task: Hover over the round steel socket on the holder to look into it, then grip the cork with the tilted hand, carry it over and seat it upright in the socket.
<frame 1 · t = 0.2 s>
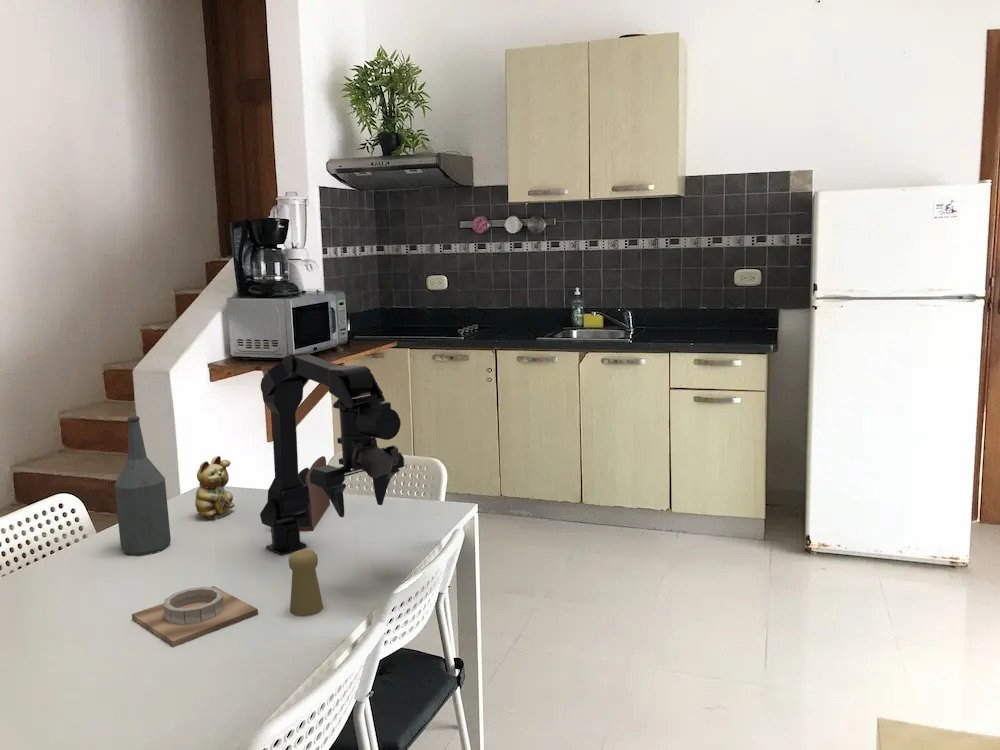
hand: (361, 510, 163), 15 cm above the table, tool pointing down, fingers open, 9 cm apart
socket holder: (195, 616, 152), on the table
decorative figurine: (213, 516, 209), on the table
cork: (306, 610, 154), on the table
letter holder: (301, 519, 205), on the table
bottle: (146, 548, 188), on the table
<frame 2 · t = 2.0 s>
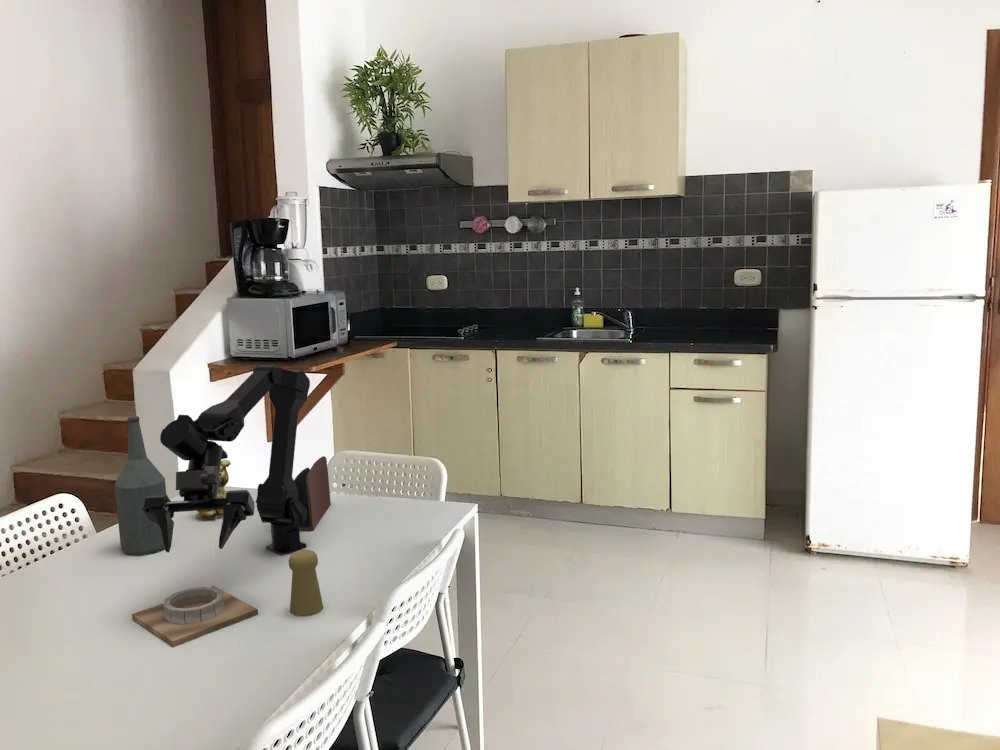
hand: (193, 549, 148), 13 cm above the table, tool tilted 45°, fingers open, 9 cm apart
nothing on the table moved.
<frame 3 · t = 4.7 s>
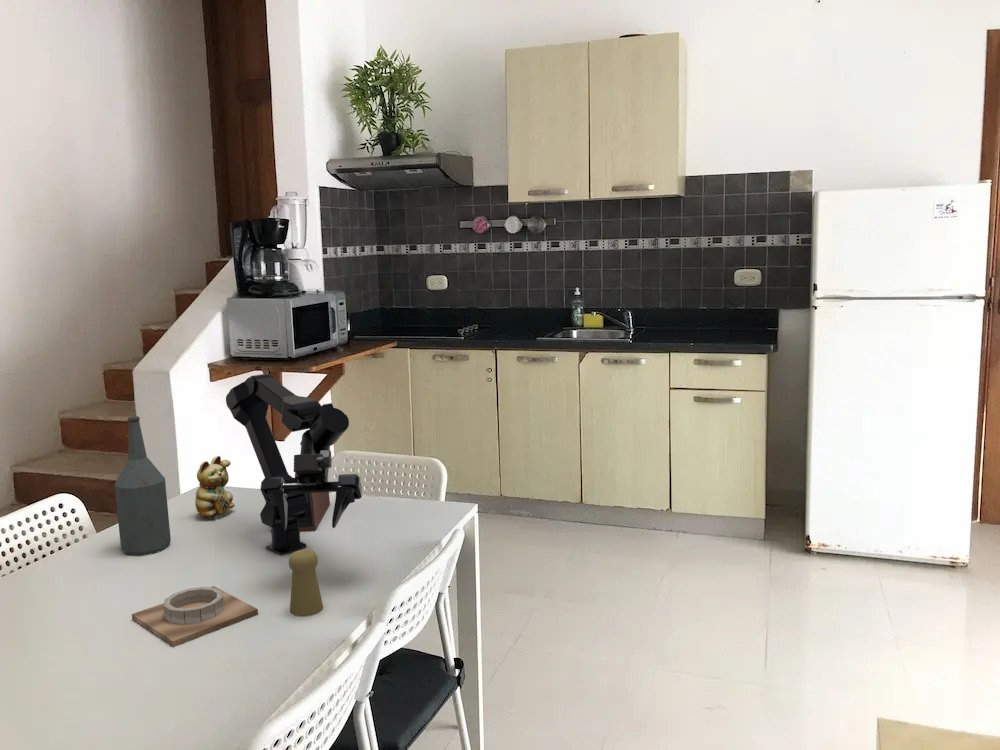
hand: (308, 528, 159), 13 cm above the table, tool tilted 45°, fingers open, 9 cm apart
nothing on the table moved.
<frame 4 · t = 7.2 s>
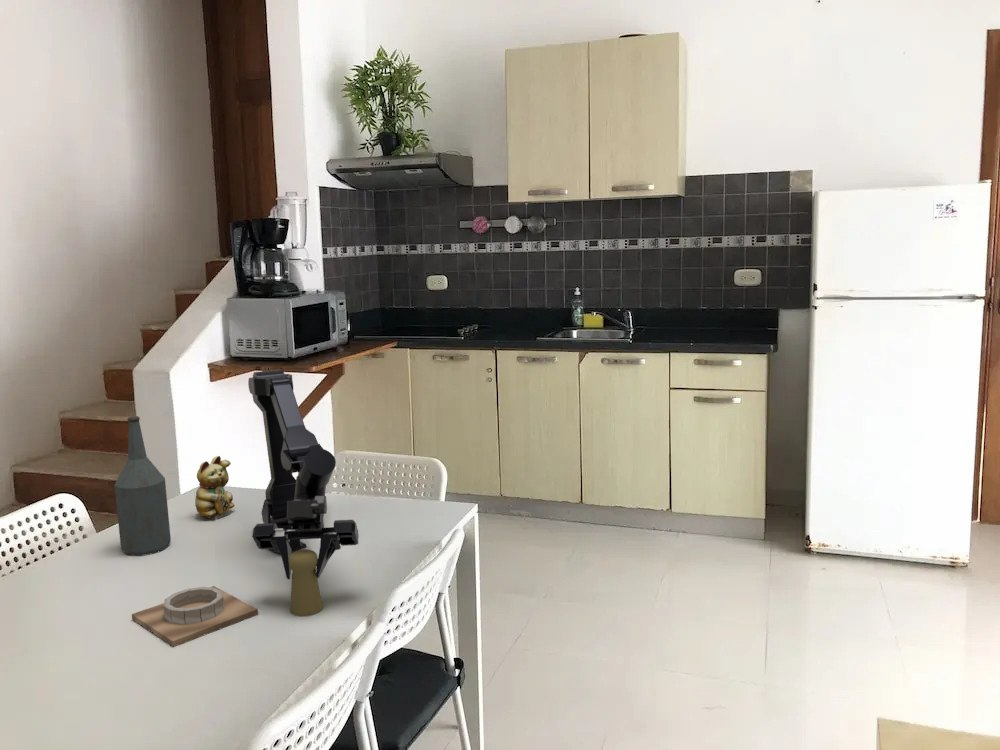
hand: (302, 577, 151), 7 cm above the table, tool tilted 45°, fingers closed on cork, 5 cm apart
cork: (306, 609, 154), on the table, touching gripper
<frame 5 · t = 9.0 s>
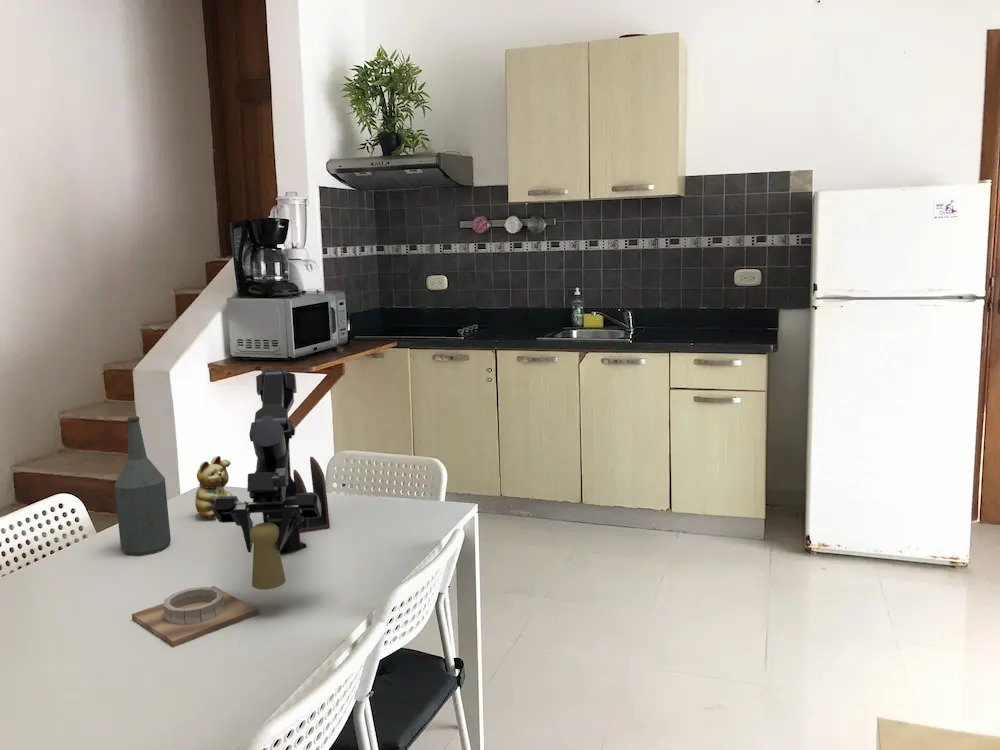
hand: (264, 550, 150), 12 cm above the table, tool tilted 45°, fingers closed on cork, 5 cm apart
cork: (268, 583, 153), point 5 cm above the table, touching gripper
when the fingers open (8 cm above the table, at t = 11.2 s): cork stays where it is, resting on socket holder.
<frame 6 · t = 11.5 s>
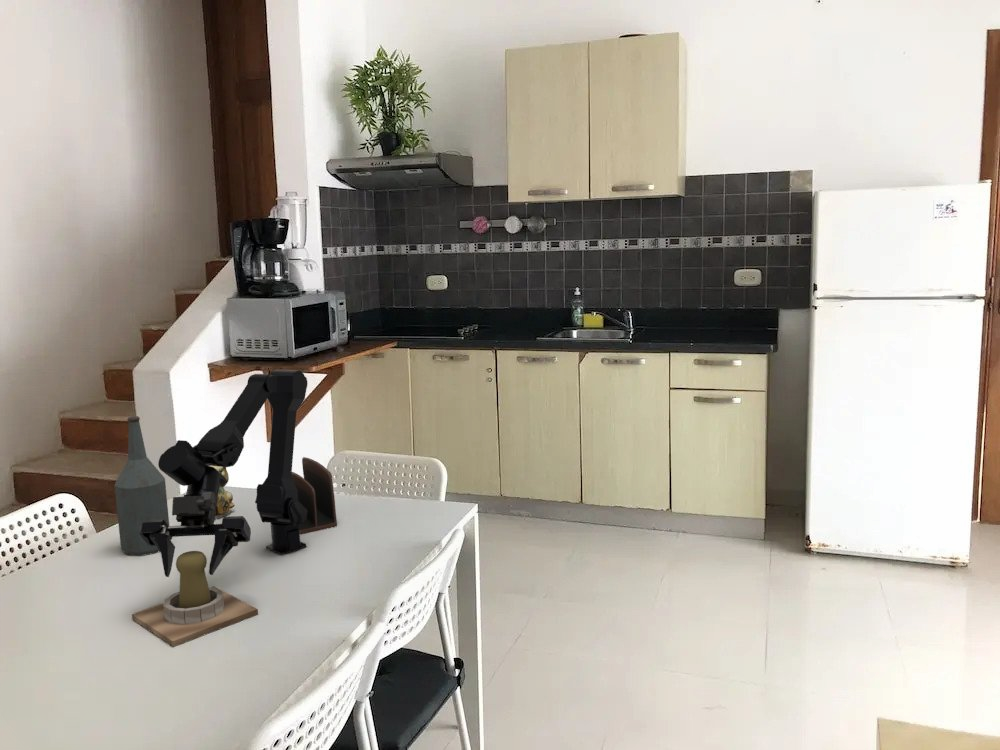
hand: (188, 575, 149), 9 cm above the table, tool tilted 45°, fingers open, 7 cm apart
cork: (196, 612, 152), point 1 cm above the table, touching socket holder
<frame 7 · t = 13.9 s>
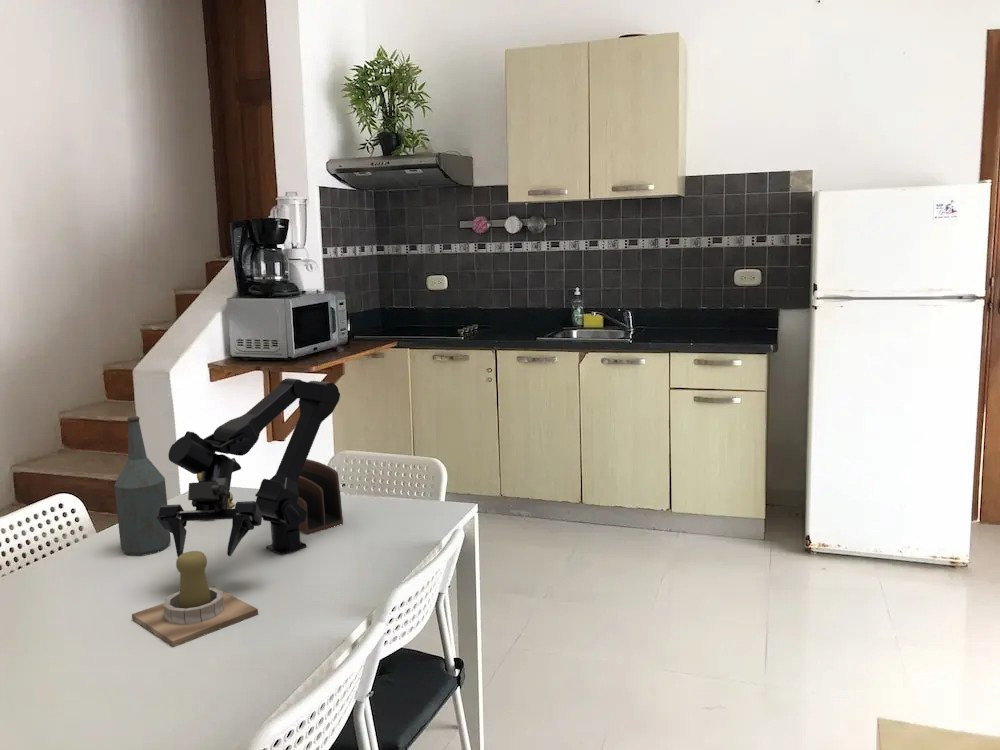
hand: (204, 556, 158), 9 cm above the table, tool tilted 45°, fingers open, 9 cm apart
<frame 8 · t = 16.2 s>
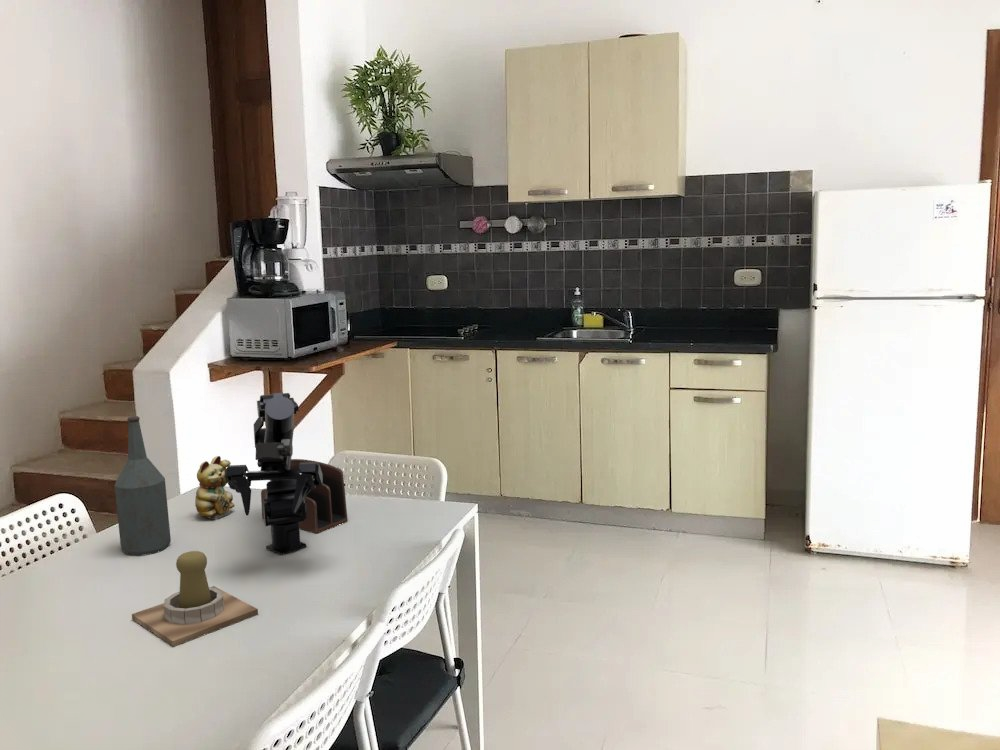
hand: (270, 513, 166), 14 cm above the table, tool tilted 45°, fingers open, 9 cm apart
at the end: cork 0.2 cm off-centre on the socket holder, point 0.8 cm above the socket holder's base; cork tilted 0°; the gripper is holding nothing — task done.
